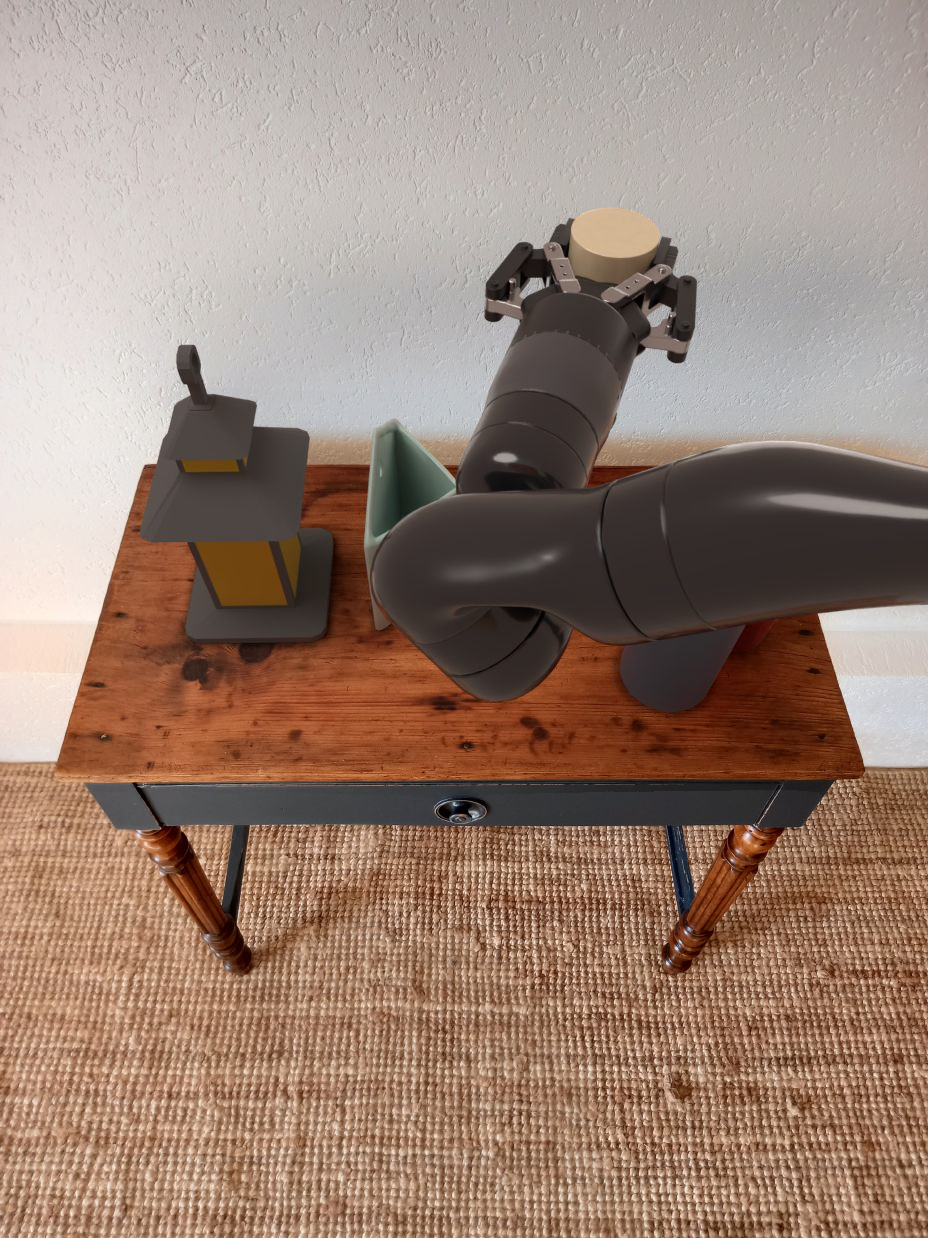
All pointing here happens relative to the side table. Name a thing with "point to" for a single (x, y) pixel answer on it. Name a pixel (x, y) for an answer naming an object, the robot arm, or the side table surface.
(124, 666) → the side table surface
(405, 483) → the planter
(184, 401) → the lantern
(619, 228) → the canister
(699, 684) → the stand
